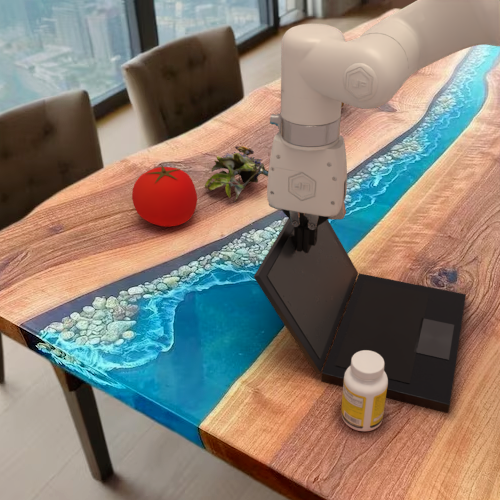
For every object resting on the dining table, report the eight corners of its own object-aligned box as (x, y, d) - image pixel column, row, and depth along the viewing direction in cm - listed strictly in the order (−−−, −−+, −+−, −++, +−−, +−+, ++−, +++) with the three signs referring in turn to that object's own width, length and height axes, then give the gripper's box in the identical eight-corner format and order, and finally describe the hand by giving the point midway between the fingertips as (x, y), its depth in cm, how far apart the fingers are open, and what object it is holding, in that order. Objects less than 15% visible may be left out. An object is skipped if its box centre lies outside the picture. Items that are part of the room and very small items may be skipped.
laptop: (464, 302, 102) (466, 293, 101) (448, 413, 84) (450, 404, 83) (358, 280, 107) (359, 272, 106) (320, 381, 89) (321, 372, 88)
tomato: (209, 210, 126) (206, 162, 120) (181, 241, 117) (177, 191, 111) (155, 199, 130) (150, 152, 124) (125, 229, 121) (117, 179, 115)
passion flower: (245, 206, 138) (279, 163, 133) (238, 225, 128) (274, 179, 123) (202, 175, 136) (234, 130, 131) (191, 191, 126) (226, 144, 121)
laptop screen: (310, 187, 100) (305, 189, 101) (259, 275, 82) (253, 276, 82) (359, 273, 106) (354, 274, 107) (321, 372, 88) (315, 374, 88)
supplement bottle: (378, 400, 86) (386, 345, 80) (386, 432, 81) (394, 377, 76) (338, 400, 86) (343, 346, 80) (343, 433, 81) (348, 378, 76)
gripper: (244, 131, 81) (247, 251, 91) (362, 148, 77) (350, 272, 87) (264, 109, 87) (264, 224, 97) (374, 123, 82) (362, 242, 93)
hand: (305, 246), depth 92 cm, fingers closed
